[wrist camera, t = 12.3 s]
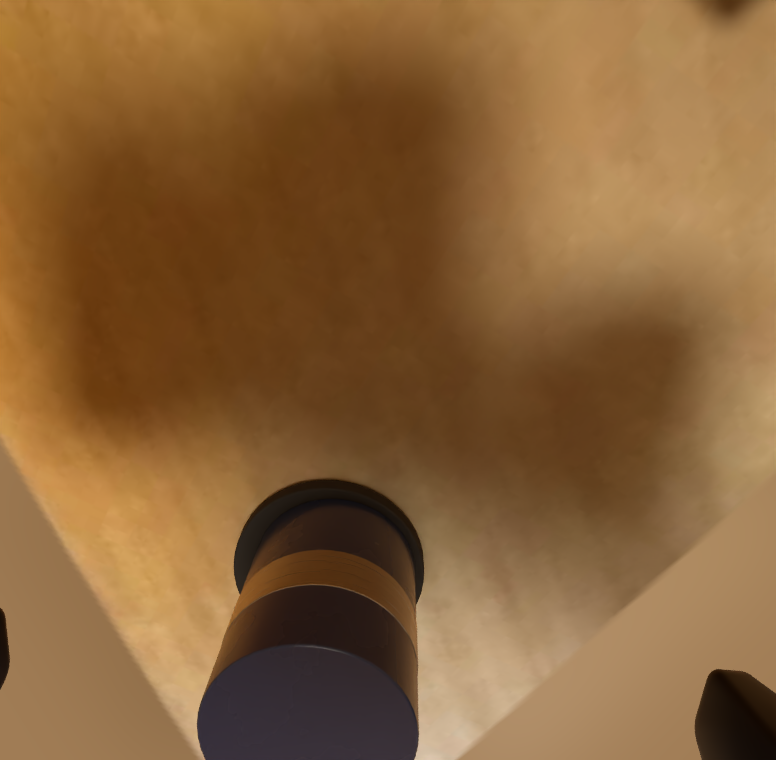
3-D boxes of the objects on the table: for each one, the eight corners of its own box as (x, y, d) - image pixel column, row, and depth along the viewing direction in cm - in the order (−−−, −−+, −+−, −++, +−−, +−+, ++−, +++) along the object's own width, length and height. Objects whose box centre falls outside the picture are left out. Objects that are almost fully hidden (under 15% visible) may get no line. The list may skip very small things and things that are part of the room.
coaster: (462, 560, 22) (463, 571, 22) (337, 670, 24) (336, 683, 23) (321, 442, 21) (319, 450, 20) (200, 565, 23) (194, 576, 22)
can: (449, 567, 22) (466, 735, 15) (341, 662, 23) (317, 852, 17) (327, 466, 21) (295, 602, 14) (222, 571, 22) (150, 738, 16)
